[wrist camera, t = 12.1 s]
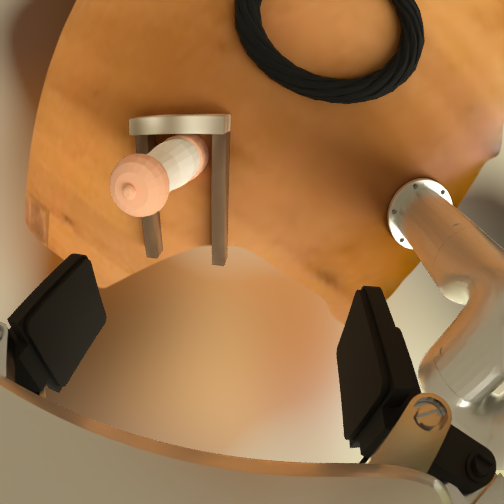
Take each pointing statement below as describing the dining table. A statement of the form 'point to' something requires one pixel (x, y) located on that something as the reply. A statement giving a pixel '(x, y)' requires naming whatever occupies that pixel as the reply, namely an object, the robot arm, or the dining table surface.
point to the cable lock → (329, 87)
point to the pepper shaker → (157, 174)
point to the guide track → (220, 171)
